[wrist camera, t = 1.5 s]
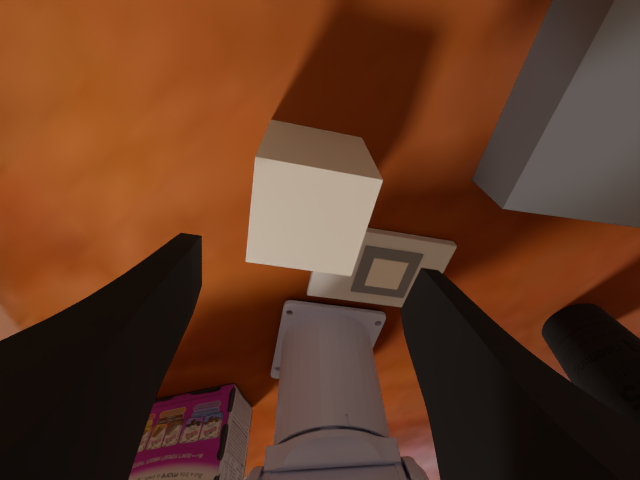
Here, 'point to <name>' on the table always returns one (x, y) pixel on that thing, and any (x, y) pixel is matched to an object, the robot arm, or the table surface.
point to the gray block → (573, 119)
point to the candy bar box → (196, 437)
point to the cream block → (310, 199)
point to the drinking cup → (598, 356)
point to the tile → (384, 268)
